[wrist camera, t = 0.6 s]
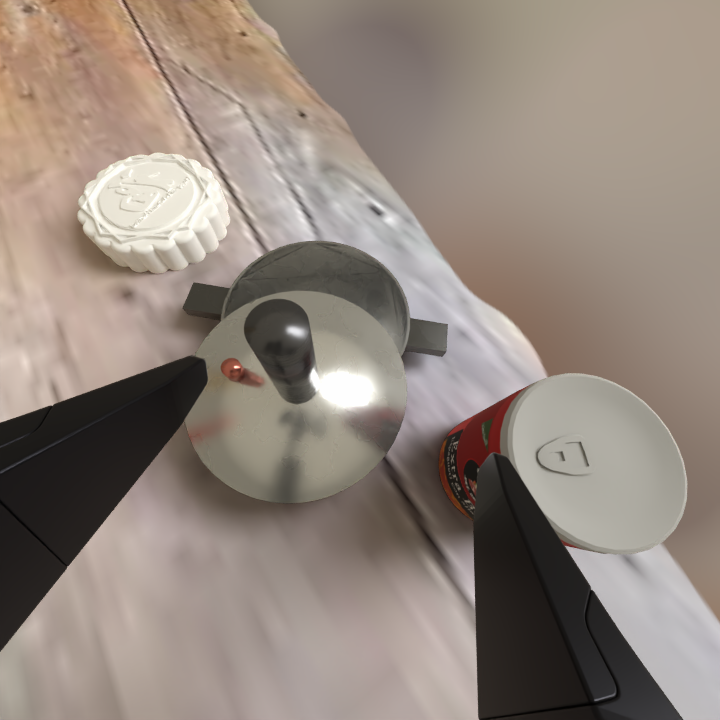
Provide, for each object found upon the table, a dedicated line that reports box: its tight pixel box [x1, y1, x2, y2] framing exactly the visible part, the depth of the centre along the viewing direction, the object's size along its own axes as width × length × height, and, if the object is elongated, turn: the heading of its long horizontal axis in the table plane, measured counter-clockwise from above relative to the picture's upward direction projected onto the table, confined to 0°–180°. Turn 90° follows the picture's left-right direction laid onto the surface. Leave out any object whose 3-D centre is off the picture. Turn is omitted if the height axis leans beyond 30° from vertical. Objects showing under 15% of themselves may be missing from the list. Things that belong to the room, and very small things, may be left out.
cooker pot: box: [183, 241, 448, 357], centre depth 26 cm, size 14×20×3 cm
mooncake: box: [77, 153, 230, 274], centre depth 29 cm, size 12×12×4 cm
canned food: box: [439, 373, 687, 554], centre depth 19 cm, size 8×8×11 cm
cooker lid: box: [185, 291, 407, 504], centre depth 18 cm, size 15×15×9 cm
